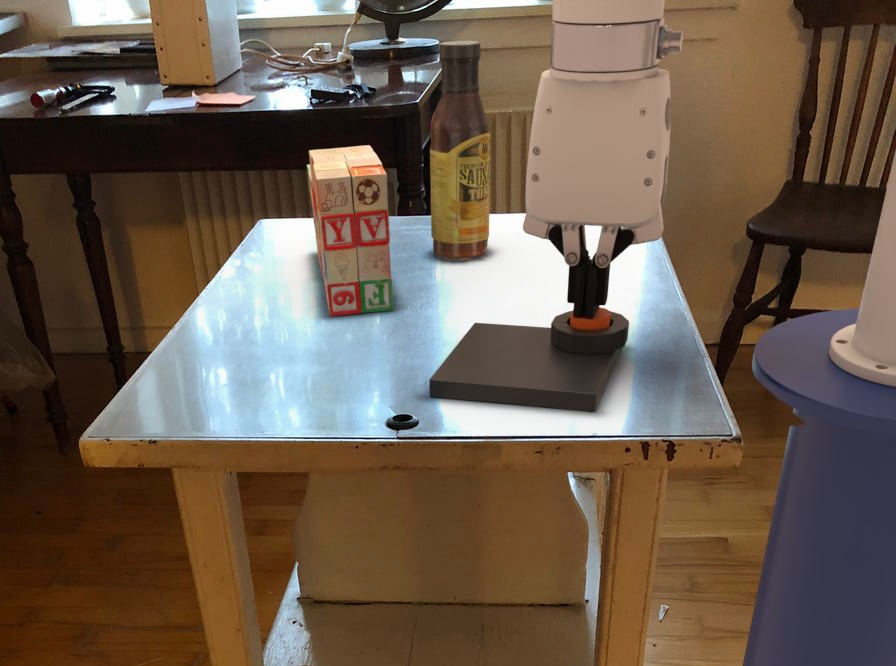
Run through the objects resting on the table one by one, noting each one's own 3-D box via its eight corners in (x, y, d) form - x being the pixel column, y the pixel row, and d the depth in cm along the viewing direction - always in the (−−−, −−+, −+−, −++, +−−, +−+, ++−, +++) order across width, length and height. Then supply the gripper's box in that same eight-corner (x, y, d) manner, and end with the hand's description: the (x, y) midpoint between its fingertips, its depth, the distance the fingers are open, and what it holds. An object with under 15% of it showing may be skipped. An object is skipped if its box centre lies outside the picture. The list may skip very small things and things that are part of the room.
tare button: (612, 326, 81) (613, 307, 80) (605, 339, 78) (606, 320, 77) (573, 323, 82) (574, 305, 81) (566, 337, 79) (567, 318, 78)
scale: (630, 346, 83) (633, 311, 81) (602, 412, 73) (605, 373, 71) (476, 335, 86) (476, 302, 85) (429, 396, 76) (428, 359, 75)
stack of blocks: (315, 253, 109) (302, 132, 102) (371, 248, 110) (362, 127, 102) (329, 317, 92) (315, 176, 85) (395, 310, 93) (386, 170, 85)
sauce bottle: (467, 265, 103) (464, 47, 91) (420, 257, 106) (411, 45, 94) (501, 249, 107) (503, 38, 95) (455, 242, 110) (451, 37, 98)
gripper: (720, 43, 69) (685, 304, 80) (513, 43, 73) (508, 291, 84) (710, 58, 63) (674, 336, 74) (487, 57, 67) (485, 321, 78)
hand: (586, 312), depth 79 cm, fingers closed
